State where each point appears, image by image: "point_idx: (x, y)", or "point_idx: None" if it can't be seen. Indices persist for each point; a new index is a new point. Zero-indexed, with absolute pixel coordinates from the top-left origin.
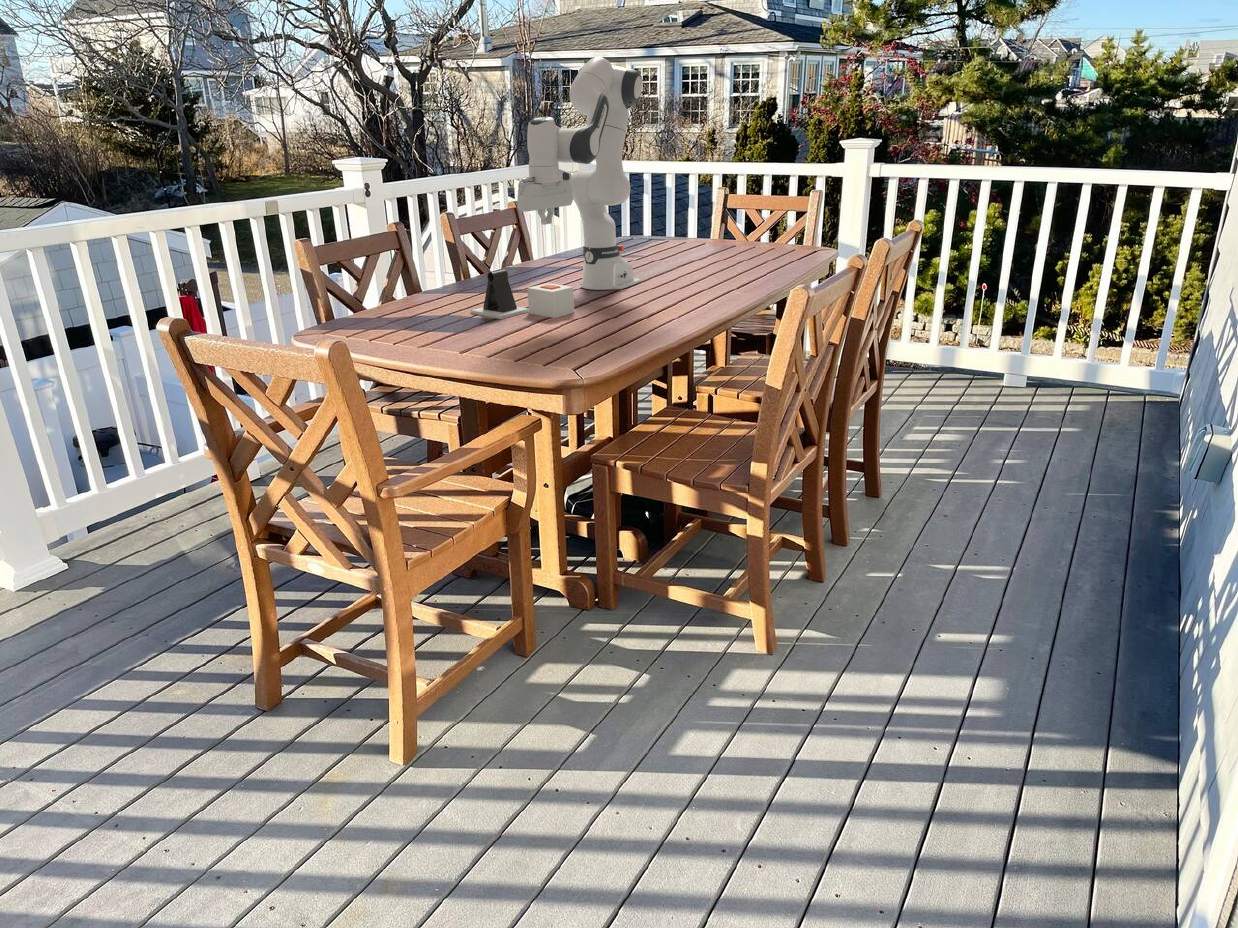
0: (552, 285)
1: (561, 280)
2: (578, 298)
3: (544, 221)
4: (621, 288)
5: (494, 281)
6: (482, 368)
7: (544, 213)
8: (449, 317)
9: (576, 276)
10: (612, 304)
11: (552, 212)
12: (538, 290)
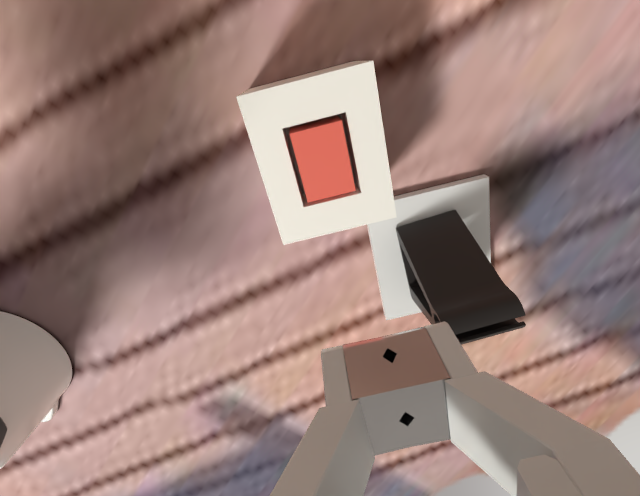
0: (306, 173)
1: (93, 465)
2: (138, 269)
3: (459, 354)
4: None
5: (505, 286)
6: None
7: (545, 444)
8: (552, 284)
9: (36, 481)
10: (58, 111)
11: (315, 489)
12: (386, 153)
